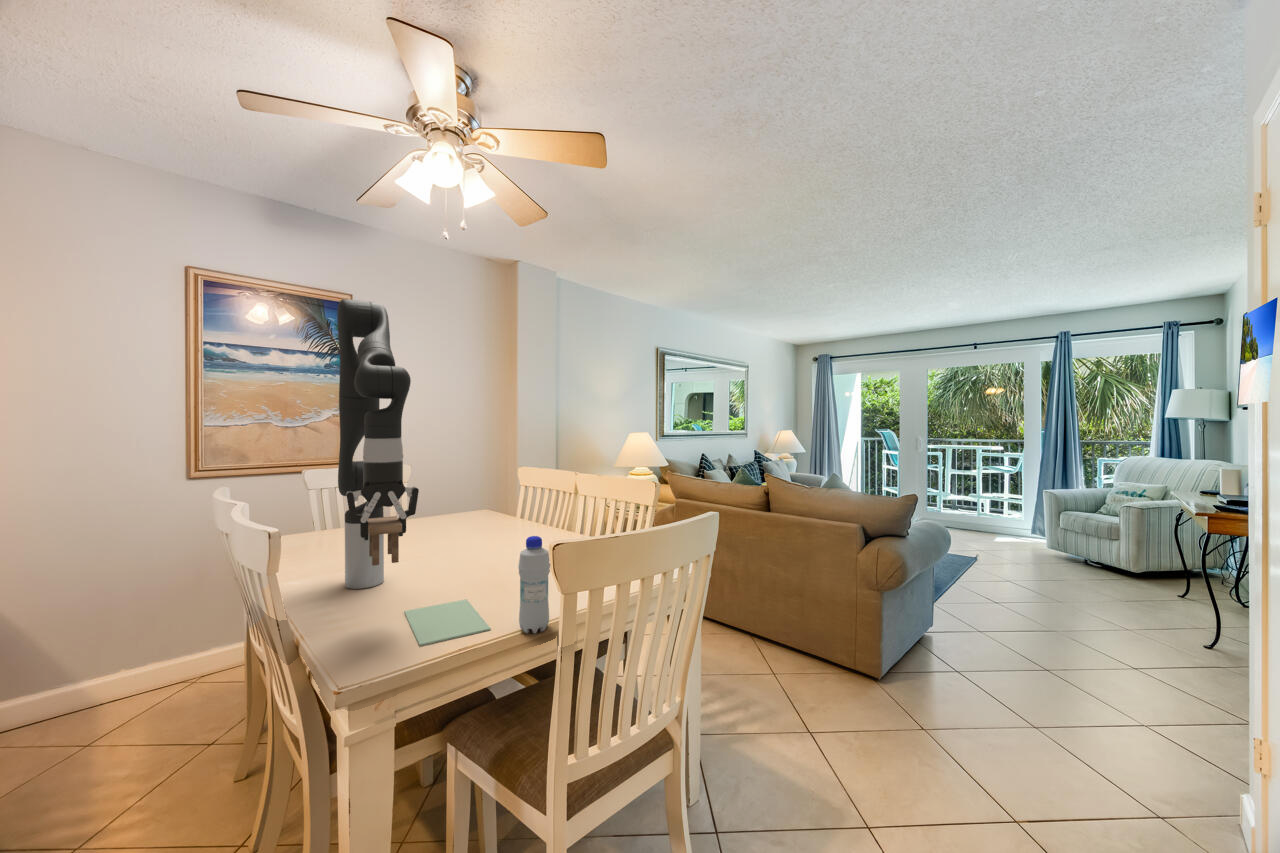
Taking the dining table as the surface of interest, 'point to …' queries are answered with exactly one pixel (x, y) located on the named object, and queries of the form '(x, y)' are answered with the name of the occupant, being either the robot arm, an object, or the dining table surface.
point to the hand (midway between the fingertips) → (383, 537)
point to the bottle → (534, 586)
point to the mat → (445, 622)
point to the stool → (384, 527)
